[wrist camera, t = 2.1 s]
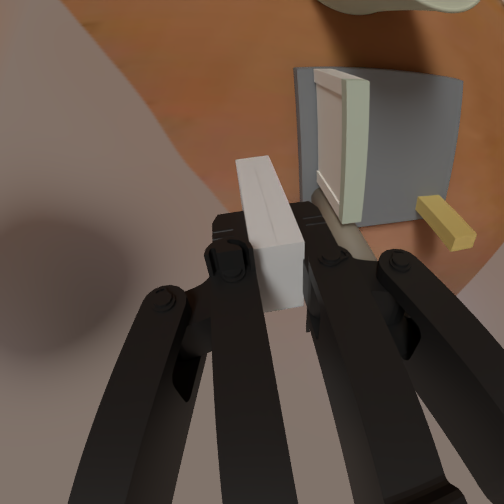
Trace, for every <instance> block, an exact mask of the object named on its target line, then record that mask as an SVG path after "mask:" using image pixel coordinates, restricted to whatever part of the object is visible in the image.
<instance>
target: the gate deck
mask: <svg viewBox="0 0 504 504" xmlns="http://www.w3.org/2000/svg"><path fill="white" fill-rule="evenodd" d="M313 69H335V70H338V71H341V72H345V73H348V74H351V75H354V76H357V77H360V78H362V79H365V80H368V81H370V98H369V132H368V151H367V166H366V179H365V190H364V200H363V210H362V219H361V222H356V223H348V224H342V223H341V222H340V220H339V218H338V216H337V215H336V213H335V211H334V210H333V208H332V206H331V204H330V203H329V201H328V199H327V198H326V196H325V194H324V193H323V191H322V189H321V188H320V186H319V185H318V183H317V170H318V118H317V92H316V82H314V70H313ZM293 70H294V84H295V98H296V115H297V134H298V156H299V184H300V202H305V201H310V202H311V203H313V204H314V205H316V206H317V207H318V208H319V210H320V212H321V214H322V217H324V219H325V221H326V223H327V225H328V227H329V229H330V230H331V232H332V234H333V236H334V238H335V240H336V242H337V244H338V246H341V247H343V248H345V249H347V250H348V251H349V252H350V254H351V255H352V256H353V258H356V259H361V260H370V261H377V259H376V257H375V255H374V254H373V252H372V250H371V249H370V247H369V245H368V244H367V242H366V240H365V239H364V237H363V235H362V234H361V232H360V230H359V229H358V227H364V226H371V225H379V224H386V223H394V222H402V221H410V220H417V219H424V220H425V221H426V222H427V223H428V225H429V226H430V227H431V228H432V229H433V231H434V232H435V233H436V234H437V235H438V237H439V238H440V239H441V240H442V242H443V243H444V244H445V245H446V247H447V248H448V249H449V250H450V252H452V251H457V250H462V249H467V248H472V246H473V244H474V241H475V238H476V235H477V234H476V233H475V232H474V230H473V229H472V228H471V227H470V226H469V225H468V224H467V223H466V222H465V221H464V220H463V219H462V218H461V217H460V216H459V214H458V213H457V212H456V211H455V210H454V209H453V208H452V207H451V206H450V205H449V204H448V203H447V202H446V201H445V199H446V195H447V190H448V186H449V181H450V176H451V171H452V166H453V161H454V155H455V150H456V143H457V137H458V130H459V122H460V114H461V104H462V93H463V81H462V80H459V79H456V78H451V77H445V76H439V75H433V74H426V73H419V72H411V71H402V70H392V69H379V68H362V67H295V68H293Z"/></svg>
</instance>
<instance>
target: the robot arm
mask: <svg viewBox="0 0 504 504" xmlns="http://www.w3.org/2000/svg"><path fill="white" fill-rule="evenodd" d="M236 167H237V174H238V181H239V188H240V195H241V203H242V210H243V211H240V212H233V213H226V214H220V215H217V217H216V218H215V220H214V221H213V223H212V231H213V235H212V239H213V243H211V244H210V245H209V246H208V247H207V248H206V250H205V253H204V257H205V261H206V265H207V269H208V273H209V276H210V277H209V278H208V279H207V280H206V281H205V282H204V283H203V284H201V285H199V286H197V287H195V288H193V289H190V290H188V291H185V292H184V290H182V289H181V288H180V287H177V286H173V285H167V286H161V287H159V288H156V289H154V290H153V291H151V292H150V293H149V294H148V295H147V296H146V297H145V299H144V300H143V302H142V304H141V306H140V309H139V311H138V313H137V315H136V318H135V320H134V322H133V324H132V327H131V329H130V331H129V333H128V336H127V338H126V340H125V343H124V345H123V348H122V350H121V352H120V355H119V357H118V359H117V362H116V364H115V367H114V369H113V372H112V374H111V377H110V379H109V382H108V384H107V387H106V389H105V392H104V395H103V397H102V400H101V402H100V405H99V408H98V411H97V413H96V416H95V419H94V422H93V424H92V428H91V430H90V433H89V436H88V439H87V442H86V445H85V448H84V451H83V454H82V457H81V460H80V463H79V466H78V470H77V473H76V476H75V480H74V483H73V487H72V490H71V494H70V497H69V501H68V504H172V500H173V495H174V491H175V486H176V481H177V477H178V473H179V469H180V464H181V460H182V456H183V451H184V447H185V443H186V438H187V434H188V430H189V426H190V422H191V418H192V414H193V409H194V405H195V401H196V397H197V393H198V389H199V385H200V380H201V377H202V373H203V369H204V364H205V361H206V356H207V353H208V352H211V351H212V363H213V384H214V402H215V418H216V432H217V445H218V459H219V470H220V481H221V492H222V502H223V504H298V500H297V495H296V489H295V484H294V479H293V473H292V467H291V462H290V456H289V450H288V445H287V440H286V434H285V428H284V423H283V417H282V412H281V406H280V401H279V395H278V390H277V384H276V378H275V373H274V368H273V363H272V356H271V351H270V346H269V340H268V334H267V329H266V324H265V318H264V312H271V311H277V310H283V309H289V308H295V307H301V306H304V299H305V302H306V305H307V320H306V332H310V331H311V335H312V338H313V342H314V345H315V349H316V352H317V356H318V359H319V363H320V367H321V370H322V374H323V378H324V382H325V385H326V389H327V393H328V397H329V401H330V404H331V408H332V412H333V416H334V420H335V424H336V428H337V432H338V436H339V439H340V444H341V448H342V452H343V456H344V460H345V465H346V469H347V473H348V477H349V481H350V486H351V490H352V495H353V499H354V503H355V504H467V502H466V499H465V497H464V495H463V494H462V492H461V491H460V490H459V489H458V488H457V487H455V486H453V485H452V484H450V483H449V482H448V481H447V479H446V477H445V474H444V471H443V468H442V465H441V462H440V458H439V456H438V452H437V450H436V447H435V443H434V440H433V438H432V435H431V432H430V429H429V426H428V423H427V421H426V418H425V415H424V413H423V410H422V407H421V405H420V402H419V400H418V397H417V394H418V395H419V397H420V398H421V399H422V401H423V402H424V404H425V405H426V407H427V408H428V409H429V411H430V412H431V414H432V415H433V417H434V418H435V419H436V421H437V423H438V424H439V425H440V427H441V428H442V430H443V431H444V433H445V434H446V436H447V437H448V439H449V440H450V442H451V443H452V445H453V446H454V448H455V449H456V451H457V452H458V454H459V455H460V457H461V459H462V460H463V462H464V463H465V465H466V466H467V468H468V470H469V471H470V473H471V474H472V476H473V477H474V479H475V480H476V482H477V484H478V485H479V487H480V488H481V490H482V491H483V493H484V494H485V496H486V497H487V498H488V499H489V500H490V501H491V502H492V503H493V504H504V349H503V348H502V347H501V345H500V344H499V343H498V342H497V341H496V340H495V339H494V337H493V336H492V335H491V334H490V333H489V332H488V330H487V329H486V328H485V327H484V326H483V325H482V324H481V323H480V321H479V320H478V319H477V318H476V317H475V316H474V315H473V314H472V313H471V312H470V311H469V310H468V309H467V307H465V305H464V304H463V303H462V302H461V301H460V300H459V299H458V298H457V297H456V296H455V295H454V294H453V293H452V292H451V291H450V290H449V289H448V288H447V287H446V286H445V285H444V284H443V283H442V282H441V281H440V280H439V279H438V278H437V277H436V276H435V275H434V274H433V273H432V272H431V271H430V270H429V269H428V268H427V267H426V266H425V265H424V264H423V263H422V262H421V261H420V260H418V259H417V258H416V257H415V256H414V255H412V254H411V253H409V252H407V251H404V250H401V249H391V250H386V251H385V252H383V253H382V254H381V256H380V258H379V261H370V260H361V259H356V258H353V256H352V255H351V254H350V252H349V251H348V250H347V249H345V248H343V247H341V246H338V244H337V242H336V240H335V238H334V236H333V234H332V232H331V230H330V229H329V227H328V225H327V223H326V221H325V219H324V217H322V214H321V212H320V210H319V208H318V207H317V206H316V205H314V204H313V203H311V202H310V201H305V202H297V203H289V202H288V200H287V198H286V195H285V193H284V191H283V188H282V186H281V184H280V181H279V179H278V177H277V174H276V172H275V170H274V167H273V165H272V163H271V161H270V158H269V156H260V157H252V158H245V159H238V160H236ZM415 391H416V392H417V394H416V392H415Z"/></svg>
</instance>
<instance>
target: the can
mask: <svg viewBox="0 0 504 504" xmlns="http://www.w3.org/2000/svg"><path fill="white" fill-rule="evenodd" d="M318 1H319V2H321V3H322V4H324V5H326V6H328V7H329V8H332V9H334V10H336V11H339V12H342V13H346V14H352V15H367V14H372V13H375V12H380V11H397V10H427V11H439V12H445V13H459V12H464V11H467V10H469V9H471V8H473V7H474V6H475V5H476V4H478V2H479V1H480V0H318Z"/></svg>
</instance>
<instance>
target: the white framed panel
mask: <svg viewBox="0 0 504 504" xmlns="http://www.w3.org/2000/svg"><path fill="white" fill-rule="evenodd" d="M313 70H314V82H316V92H317V118H318V170H317V183H318V185H319V186H320V188H321V189H322V191H323V193H324V194H325V196H326V198H327V199H328V201H329V203H330V204H331V206H332V208H333V210H334V211H335V213H336V215H337V216H338V218H339V220H340V222H341V223H342V224H348V223H356V222H361V219H362V210H363V200H364V190H365V179H366V166H367V151H368V132H369V98H370V81H368V80H365V79H362V78H360V77H357V76H354V75H351V74H348V73H345V72H341V71H338V70H335V69H313Z"/></svg>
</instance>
